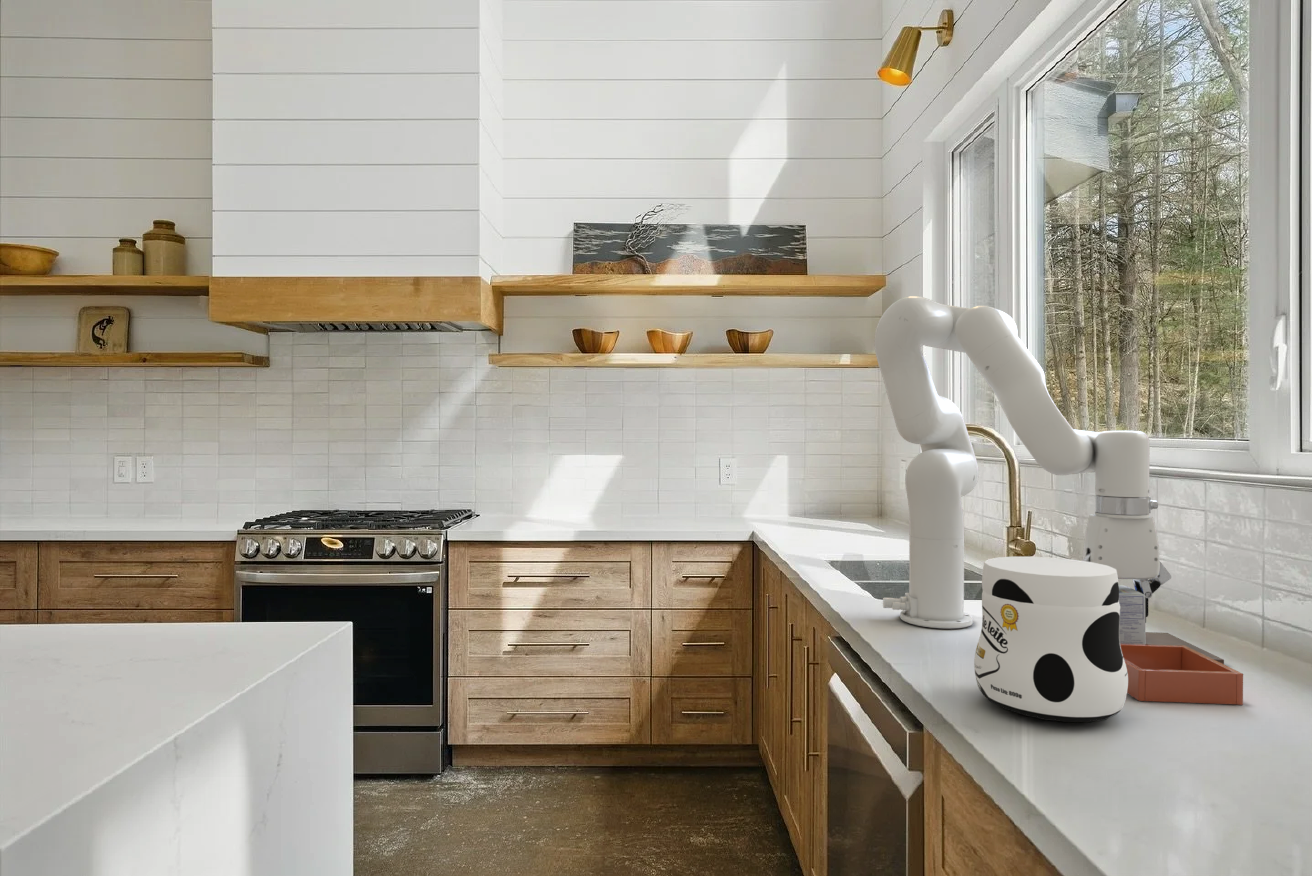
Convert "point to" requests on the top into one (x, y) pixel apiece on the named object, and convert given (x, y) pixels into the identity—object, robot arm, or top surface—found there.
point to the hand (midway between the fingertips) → (1121, 619)
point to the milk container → (1051, 639)
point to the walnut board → (1175, 643)
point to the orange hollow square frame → (1179, 675)
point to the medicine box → (1131, 616)
